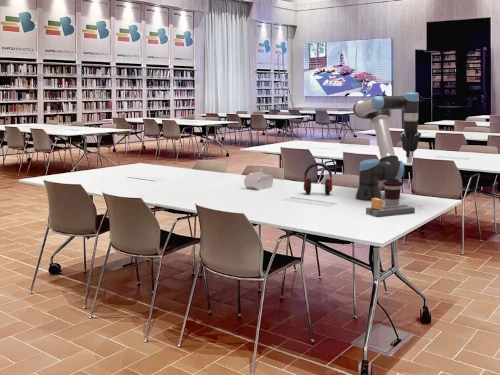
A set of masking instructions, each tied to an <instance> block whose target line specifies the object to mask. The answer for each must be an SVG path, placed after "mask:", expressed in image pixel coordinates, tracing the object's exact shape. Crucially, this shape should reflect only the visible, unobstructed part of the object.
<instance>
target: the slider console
mask: <svg viewBox="0 0 500 375" xmlns="http://www.w3.org/2000/svg"><path fill="white" fill-rule="evenodd" d="M415 212H416V207H414V206H410V205H407V204H403V203H402V204H401V203H400V204H399V205H391V206H386V205H383V209H379V210H377V209H376V210H375V209H374V208H371V207H366V208H365V214H367V215H369V216H373V217H375V218H379V217H389V216H390V217H391V216H399V215H410V214H415Z"/></svg>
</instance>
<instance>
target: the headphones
mask: <svg viewBox="0 0 500 375" xmlns="http://www.w3.org/2000/svg"><path fill="white" fill-rule="evenodd" d="M314 167H321V168H324V169H326V171H327V172H328V174H329V178H330V179H329V178H326V179H325V183H324V193H325V195H327V196H328V195H330V193H331V192H332V191H333V174H332V170H331V169H330V167H329V166H328V165H327V164H325V163H323V162H314V163H312V164H310V165H309V166H307V168H306V169H305V172H304V175H303V176H304V177H303V181H304V182H303V190H304V191H305V194H306V195H310V194H311V192H312V180H311V178H307V175H308V172H309V171H310V170H311V169H312V168H314Z"/></svg>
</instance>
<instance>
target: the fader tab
mask: <svg viewBox="0 0 500 375" xmlns="http://www.w3.org/2000/svg"><path fill="white" fill-rule="evenodd" d="M383 206H384V200H383V199H382V198H381V199H379V198H372V200H371V208H374V209H375V210H376V209H377V210H379V209H383Z"/></svg>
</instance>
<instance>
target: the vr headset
mask: <svg viewBox="0 0 500 375" xmlns="http://www.w3.org/2000/svg"><path fill="white" fill-rule="evenodd" d="M259 170H260V171H255V172H254V171H253V172H251V173H249V174H247V175H246V176H245V177H244V181H243V182H244V187H245V188H247V189H249V188H252V190H258V191H261V189H262V190H265V189H269V188H271V187H273V184H274V177H273V175H272V174H267V173H264V172H263V168H262V166H261V167H260V168H259Z"/></svg>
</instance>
